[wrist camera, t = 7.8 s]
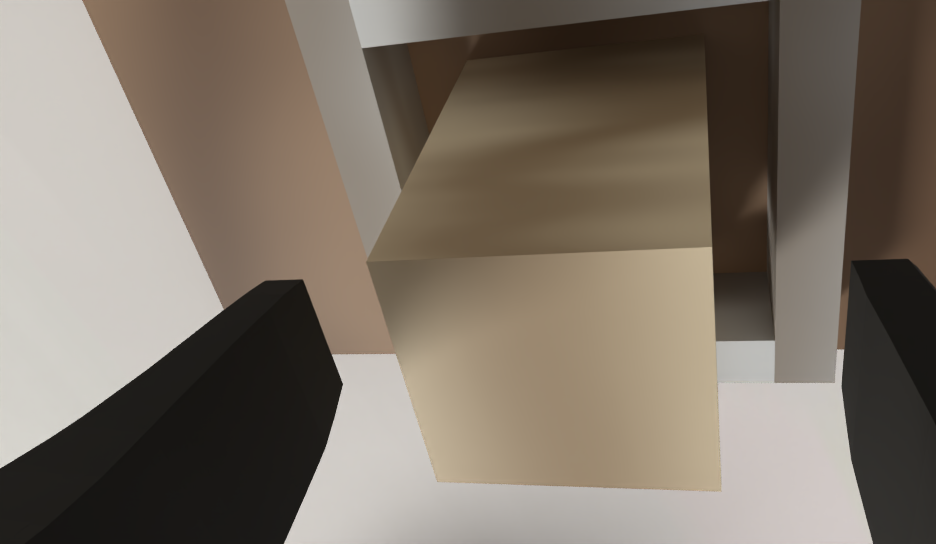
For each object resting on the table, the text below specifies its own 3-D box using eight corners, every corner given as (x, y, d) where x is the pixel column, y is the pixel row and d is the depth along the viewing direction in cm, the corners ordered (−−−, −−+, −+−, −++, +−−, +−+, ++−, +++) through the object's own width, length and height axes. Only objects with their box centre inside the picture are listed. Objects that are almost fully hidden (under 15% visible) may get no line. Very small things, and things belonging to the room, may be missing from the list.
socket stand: (1263, -297, 11) (1419, -273, 8) (1089, 312, 16) (1155, 426, 14) (82, -83, 16) (-22, -31, 13) (260, 328, 21) (208, 414, 19)
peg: (704, 34, 14) (712, 246, 9) (712, 238, 16) (721, 491, 11) (467, 60, 15) (365, 261, 10) (505, 247, 17) (437, 481, 12)
